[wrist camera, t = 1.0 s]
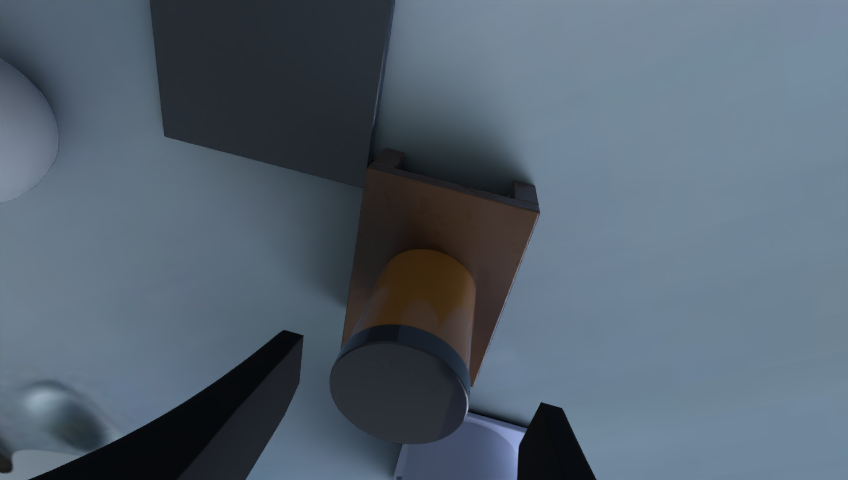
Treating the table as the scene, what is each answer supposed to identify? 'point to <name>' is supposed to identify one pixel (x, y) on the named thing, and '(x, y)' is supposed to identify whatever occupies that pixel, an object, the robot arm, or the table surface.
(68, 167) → the table surface
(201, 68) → the slate pad
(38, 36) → the table surface
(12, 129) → the white ovoid
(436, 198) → the shelf
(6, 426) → the table surface
